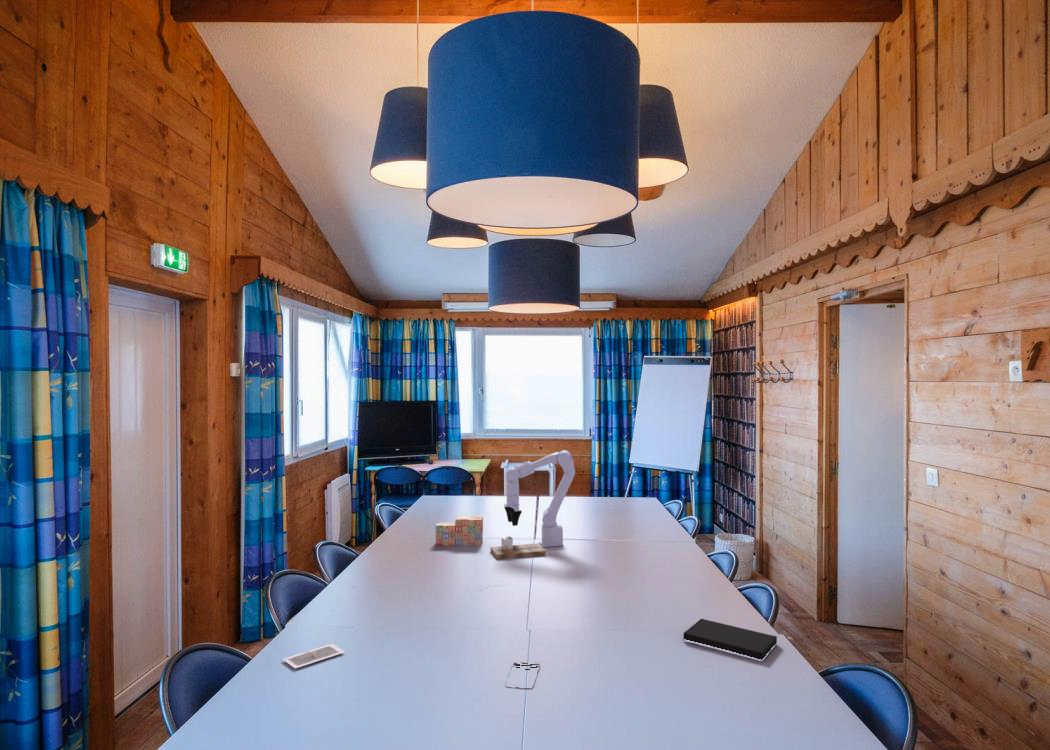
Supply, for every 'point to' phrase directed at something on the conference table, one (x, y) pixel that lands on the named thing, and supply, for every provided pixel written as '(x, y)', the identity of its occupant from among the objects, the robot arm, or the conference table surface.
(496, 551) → the fader console
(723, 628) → the external hard drive
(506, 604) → the conference table surface
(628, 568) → the conference table surface
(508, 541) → the fader tab
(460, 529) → the stack of blocks
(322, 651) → the touchpad
